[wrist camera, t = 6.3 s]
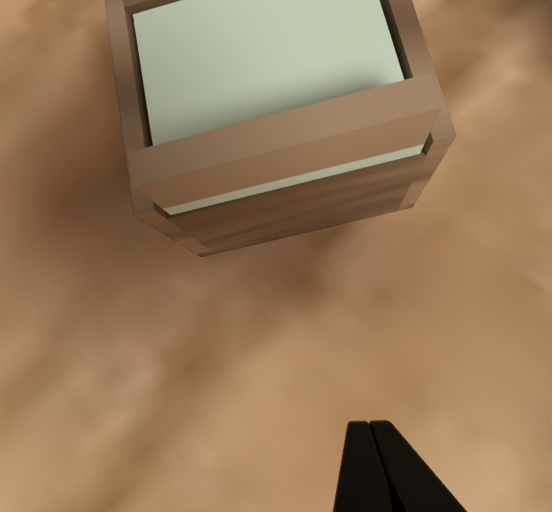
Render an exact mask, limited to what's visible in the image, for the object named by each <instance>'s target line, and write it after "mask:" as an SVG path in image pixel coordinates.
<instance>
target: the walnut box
mask: <svg viewBox="0 0 552 512" xmlns="http://www.w3.org/2000/svg"><path fill="white" fill-rule="evenodd" d="M177 1H181V0H105V7H106V14H107V22H108V29H109V36H110V44H111V51H112V58H113V66H114V73H115V80H116V88H117V95H118V102H119V110H120V117H121V124H122V132H123V139H124V146H125V154H126V161H127V168H128V176H129V183H130V190H131V197H132V205H133V212H134V216H136V217H137V218H139V219H140V220H142V221H144V222H145V223H147V224H148V225H150V226H152V227H153V228H155V229H157V230H158V231H160V232H161V233H163V234H165V235H166V236H168V237H170V238H171V239H173V240H174V241H176V242H178V243H179V244H181V245H183V246H184V247H186V248H187V249H189V250H191V251H192V252H194V253H196V254H197V255H199V256H200V257H203V256H207V255H212V254H216V253H220V252H224V251H229V250H233V249H237V248H241V247H246V246H250V245H254V244H258V243H263V242H267V241H271V240H275V239H280V238H284V237H288V236H293V235H297V234H301V233H305V232H310V231H314V230H318V229H322V228H327V227H331V226H335V225H339V224H344V223H348V222H352V221H356V220H361V219H365V218H369V217H373V216H378V215H382V214H386V213H390V212H395V211H399V210H403V209H408V208H412V207H413V206H414V204H415V202H416V201H417V199H418V197H419V196H420V194H421V193H422V191H423V189H424V188H425V186H426V184H427V183H428V181H429V180H430V178H431V176H432V175H433V173H434V171H435V170H436V168H437V167H438V165H439V163H440V162H441V160H442V158H443V157H444V155H445V154H446V152H447V150H448V149H449V147H450V145H451V144H452V142H453V141H454V139H455V137H456V133H455V130H454V127H453V124H452V121H451V118H450V115H449V112H448V109H447V106H446V103H445V99H444V96H443V93H442V90H441V87H440V84H439V81H438V78H437V75H436V72H435V69H434V66H433V63H432V60H431V57H430V54H429V51H428V48H427V45H426V42H425V39H424V36H423V33H422V30H421V27H420V24H419V21H418V18H417V15H416V12H415V9H414V6H413V3H412V0H380V3H381V7H382V10H383V13H384V16H385V20H386V23H387V26H388V29H389V32H390V36H391V39H392V42H393V45H394V49H395V52H396V55H397V58H398V61H399V65H400V68H401V71H402V74H403V78H404V80H406V79H410V78H414V77H417V76H421V75H425V74H429V73H430V74H431V77H432V80H433V83H434V86H435V89H436V92H437V95H438V98H439V101H440V104H441V107H442V108H441V110H440V112H439V114H438V116H437V118H436V120H435V123H434V125H433V127H432V129H431V131H430V133H429V135H428V137H427V139H426V142H425V144H424V146H423V148H422V150H421V152H420V154H417V155H413V156H409V157H405V158H401V159H397V160H393V161H389V162H385V163H381V164H377V165H373V166H368V167H364V168H360V169H356V170H352V171H348V172H344V173H340V174H336V175H332V176H328V177H324V178H320V179H316V180H312V181H307V182H303V183H299V184H295V185H291V186H287V187H283V188H279V189H275V190H271V191H267V192H263V193H259V194H255V195H250V196H246V197H242V198H238V199H234V200H230V201H226V202H222V203H218V204H214V205H210V206H206V207H202V208H198V209H193V210H189V211H185V212H181V213H177V214H173V215H170V214H169V213H167V212H166V211H165V210H163V209H162V208H161V207H159V206H158V205H157V204H156V203H154V202H153V201H152V200H150V199H149V198H148V197H146V196H145V195H144V194H142V193H141V192H140V191H138V190H137V189H136V188H134V187H133V184H132V177H131V170H130V162H129V155H128V152H131V151H135V150H139V149H143V148H146V147H150V146H153V142H152V136H151V129H150V123H149V116H148V110H147V103H146V97H145V90H144V84H143V77H142V71H141V64H140V57H139V51H138V44H137V38H136V31H135V25H134V18H133V14H136V13H140V12H143V11H146V10H150V9H153V8H157V7H160V6H163V5H167V4H170V3H174V2H177Z"/></svg>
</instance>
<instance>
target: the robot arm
mask: <svg viewBox="0 0 552 512" xmlns="http://www.w3.org/2000/svg"><path fill="white" fill-rule="evenodd" d="M333 512H467V511H466V510H465V509H464V507H463V506H462V505H461V504H460V503H459V502H458V500H457V499H456V498H455V497H454V496H453V495H452V493H451V492H450V491H449V490H448V489H447V487H446V486H445V485H444V484H443V483H442V482H441V480H440V479H439V478H438V477H437V476H436V475H435V473H434V472H433V471H432V470H431V469H430V468H429V466H428V465H427V464H426V463H425V462H424V460H423V459H422V458H421V457H420V456H419V455H418V453H417V452H416V451H415V450H414V449H413V448H412V446H411V445H410V444H409V443H408V442H407V441H406V439H405V438H404V437H403V436H402V435H401V433H400V432H399V431H398V430H397V429H396V428H395V426H394V425H393V424H392V423H391V422H390V421H387V420H373V421H370V422H369V423H368V422H367V421H350V422H348V425H347V430H346V436H345V442H344V448H343V454H342V459H341V465H340V471H339V477H338V483H337V489H336V495H335V501H334V507H333Z"/></svg>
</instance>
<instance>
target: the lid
mask: <svg viewBox="0 0 552 512" xmlns="http://www.w3.org/2000/svg"><path fill="white" fill-rule="evenodd" d="M133 18H134V25H135V31H136V38H137V44H138V51H139V57H140V64H141V71H142V77H143V84H144V90H145V97H146V103H147V110H148V116H149V123H150V129H151V136H152V142H153V146H150V147H146V148H143V149H139V150H135V151H131V152H128V155H129V162H130V170H131V177H132V184H133V187H134V188H136V189H137V190H138V191H140V192H141V193H142V194H144V195H145V196H146V197H148V198H149V199H150V200H152V201H153V202H154V203H156V204H157V205H158V206H159V207H161V208H162V209H163V210H165V211H166V212H167V213H169V214H170V215H173V214H177V213H181V212H185V211H189V210H193V209H198V208H202V207H206V206H210V205H214V204H218V203H222V202H226V201H230V200H234V199H238V198H242V197H246V196H250V195H255V194H259V193H263V192H267V191H271V190H275V189H279V188H283V187H287V186H291V185H295V184H299V183H303V182H307V181H312V180H316V179H320V178H324V177H328V176H332V175H336V174H340V173H344V172H348V171H352V170H356V169H360V168H364V167H368V166H373V165H377V164H381V163H385V162H389V161H393V160H397V159H401V158H405V157H409V156H413V155H417V154H420V152H421V150H422V148H423V146H424V144H425V142H426V139H427V137H428V135H429V133H430V131H431V129H432V127H433V125H434V123H435V120H436V118H437V116H438V114H439V112H440V110H441V108H442V107H441V104H440V101H439V98H438V95H437V92H436V89H435V86H434V83H433V80H432V77H431V74H430V73H429V74H425V75H421V76H417V77H414V78H410V79H406V80H404V78H403V74H402V71H401V68H400V65H399V61H398V58H397V55H396V52H395V49H394V45H393V42H392V39H391V36H390V32H389V29H388V26H387V23H386V20H385V16H384V13H383V10H382V7H381V3H380V0H181V1H177V2H174V3H170V4H167V5H163V6H160V7H157V8H153V9H150V10H146V11H143V12H140V13H136V14H133Z"/></svg>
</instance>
